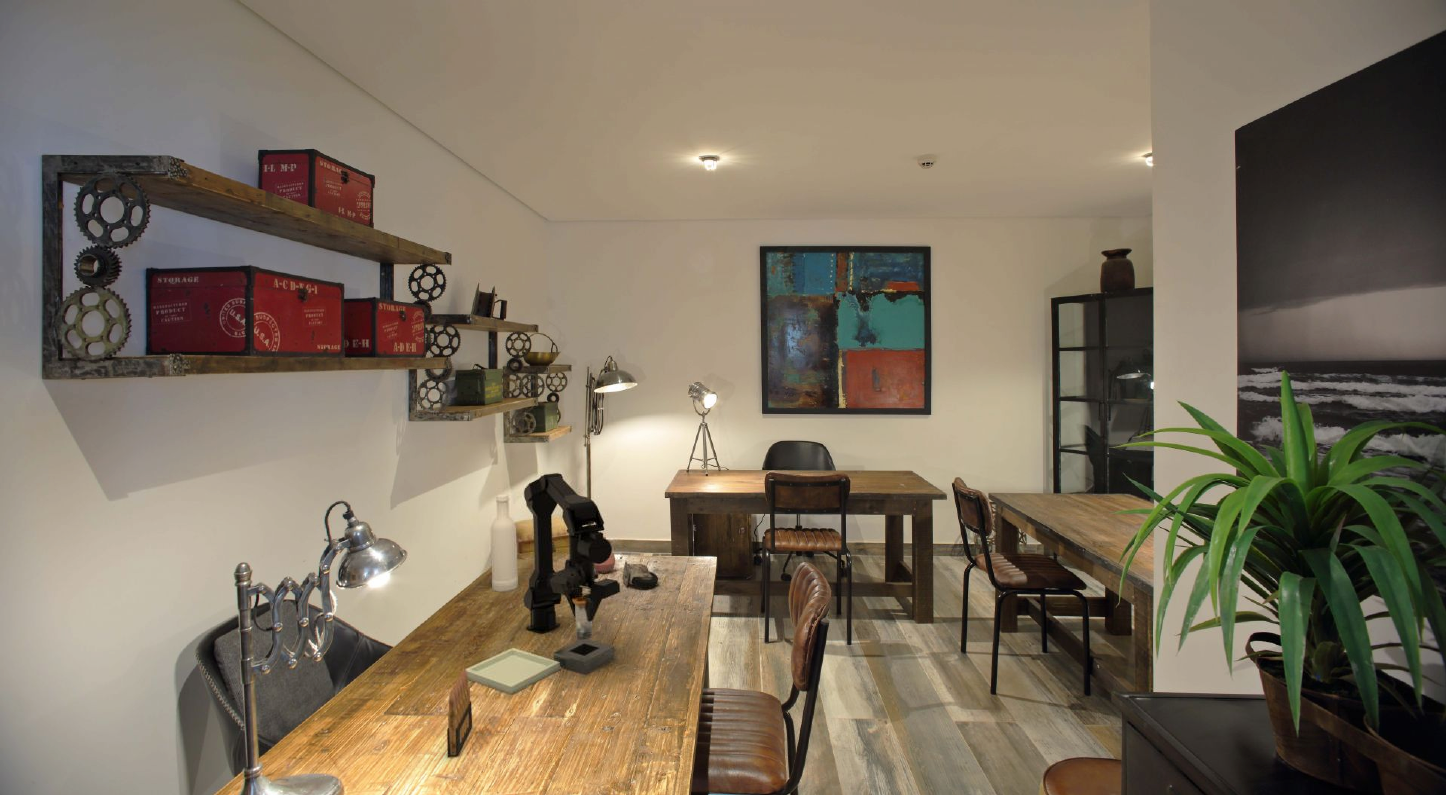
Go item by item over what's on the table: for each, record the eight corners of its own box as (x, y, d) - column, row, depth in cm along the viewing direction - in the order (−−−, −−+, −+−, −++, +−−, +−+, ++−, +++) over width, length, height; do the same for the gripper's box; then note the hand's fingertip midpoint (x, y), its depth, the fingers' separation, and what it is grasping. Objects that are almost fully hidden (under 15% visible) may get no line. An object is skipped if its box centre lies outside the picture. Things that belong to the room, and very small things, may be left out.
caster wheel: (658, 596, 213) (628, 595, 209) (649, 578, 223) (620, 578, 220) (662, 576, 212) (631, 576, 208) (653, 560, 222) (623, 559, 218)
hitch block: (554, 665, 158) (553, 652, 158) (584, 650, 167) (583, 638, 167) (585, 675, 153) (584, 662, 153) (614, 658, 161) (614, 646, 161)
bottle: (487, 591, 213) (483, 497, 212) (502, 583, 221) (499, 492, 219) (508, 593, 211) (505, 498, 210) (523, 585, 218) (520, 493, 217)
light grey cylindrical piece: (568, 637, 159) (567, 598, 158) (583, 630, 163) (582, 592, 163) (584, 642, 156) (583, 601, 156) (599, 634, 160) (598, 595, 160)
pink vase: (610, 575, 227) (609, 540, 226) (589, 574, 228) (588, 539, 228) (618, 569, 234) (618, 535, 234) (598, 568, 236) (597, 534, 235)
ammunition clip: (462, 726, 132) (460, 666, 131) (472, 725, 132) (470, 665, 131) (447, 757, 121) (445, 692, 121) (458, 757, 121) (455, 691, 121)
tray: (464, 677, 153) (463, 670, 153) (513, 655, 164) (513, 647, 164) (511, 695, 144) (511, 687, 144) (559, 669, 156) (559, 662, 156)
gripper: (527, 557, 157) (529, 623, 158) (586, 568, 147) (588, 639, 147) (563, 546, 166) (564, 608, 167) (620, 556, 156) (622, 622, 157)
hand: (583, 619), depth 159 cm, fingers closed on light grey cylindrical piece, 4 cm apart
